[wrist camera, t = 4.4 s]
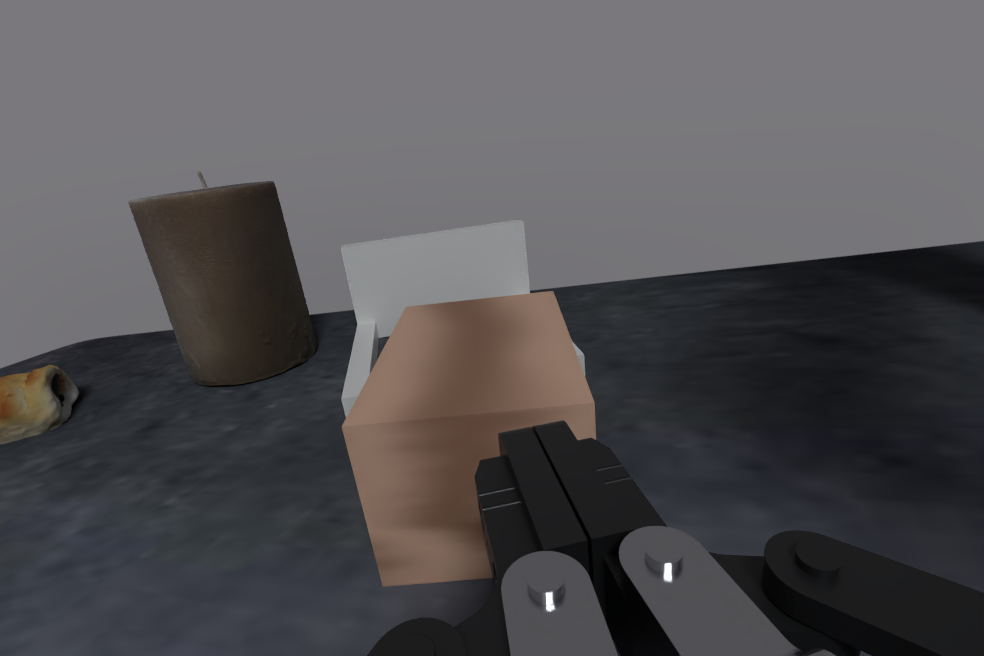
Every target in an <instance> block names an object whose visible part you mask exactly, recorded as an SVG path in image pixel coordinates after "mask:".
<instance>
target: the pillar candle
mask: <svg viewBox="0 0 984 656" xmlns="http://www.w3.org/2000/svg"><path fill="white" fill-rule="evenodd" d="M197 173H198V176H199V178H200V180H201V183H202V187H203V189H200V190H193V191H184V192H178V193H170V194H164V195H158V196H153V197H147V198H140V199H136V200H131V201H129V206H130V208H131V211H132V214H133V216H134V219H135V222H136V225H137V228H138V230H139V233H140V236H141V238H142V242H143V245H144V248H145V251H146V253H147V255H148V259H149V261H150V264H151V266H152V270H153V273H154V275H155V278H156V280H157V283H158V286H159V289H160V292H161V295H162V298H163V301H164V304H165V306H166V310H167V313H168V316H169V319H170V322H171V324H172V326H173V329H174V332H175V335H176V340H177V342H178V345H179V347H180V350H181V353H182V356H183V358H184V361H185V363H186V365H187V368H188V370H189V373H190V375H191V377H192V379H193V381H194V382H195V383H197V384H200V385H205V386H216V385H237V384H244V383H247V382H254V381H257V380H260V379H266V378H268V377H271V376H273V375H276V374H279V373H281V372H284V371H286V370H287V369H289V368H292V367H294V366H296V365H299V364H300V363H303V362H305V361H306V360H308V359H309V358H310V357H311V356H312V355H313V354H314V353H315V351H316V349H317V342H316V338H315V335H314V331H313V327H312V323H311V319H310V315H309V311H308V308H307V304H306V300H305V297H304V293H303V289H302V285H301V281H300V278H299V274H298V271H297V266H296V263H295V259H294V256H293V252H292V248H291V244H290V241H289V237H288V232H287V228H286V225H285V221H284V218H283V213H282V210H281V206H280V202H279V198H278V194H277V190H276V187H275V184H274V182H273V181H267V182H257V183H245V184H236V185H229V186H221V187H214V188H207V185H206V183H205V180H204V179H203V176H202V174H201V172H197Z"/></svg>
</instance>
